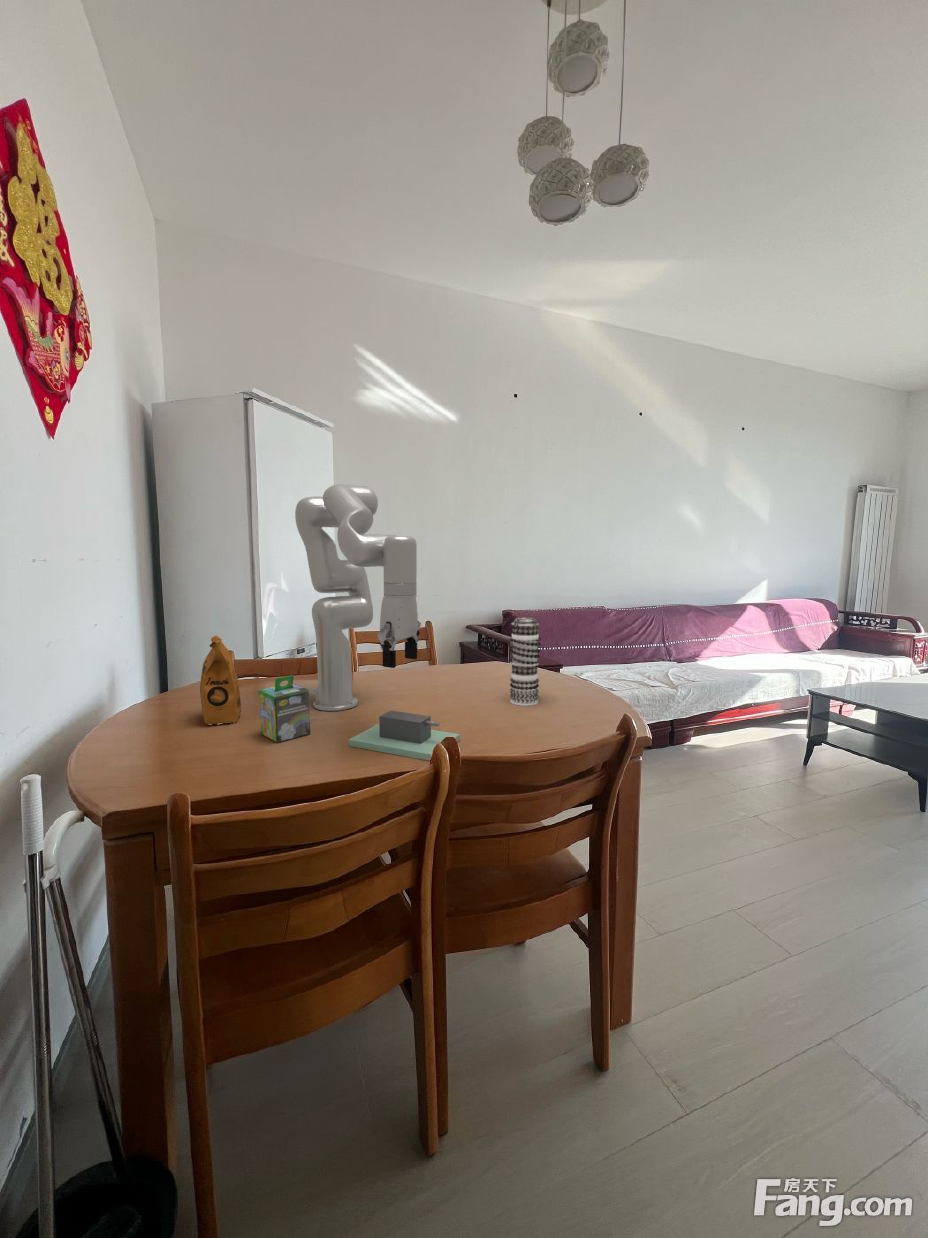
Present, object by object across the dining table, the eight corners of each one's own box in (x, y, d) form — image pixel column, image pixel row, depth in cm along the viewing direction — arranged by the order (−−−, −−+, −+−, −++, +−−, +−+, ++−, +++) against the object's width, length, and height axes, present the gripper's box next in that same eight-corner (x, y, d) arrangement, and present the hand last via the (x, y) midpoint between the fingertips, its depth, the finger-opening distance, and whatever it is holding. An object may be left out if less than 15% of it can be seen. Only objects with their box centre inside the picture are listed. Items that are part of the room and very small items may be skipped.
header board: (348, 745, 126) (348, 727, 125) (382, 727, 138) (381, 710, 138) (432, 761, 117) (432, 741, 116) (459, 740, 129) (459, 722, 129)
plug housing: (379, 737, 127) (379, 716, 127) (391, 730, 132) (390, 710, 131) (434, 746, 121) (434, 724, 121) (444, 739, 126) (444, 718, 125)
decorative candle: (541, 706, 156) (543, 620, 153) (509, 706, 157) (510, 620, 153) (537, 697, 166) (539, 616, 162) (507, 697, 166) (508, 616, 162)
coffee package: (198, 728, 138) (192, 643, 135) (203, 714, 149) (198, 635, 146) (240, 724, 141) (235, 641, 138) (242, 710, 153) (238, 633, 150)
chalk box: (294, 725, 140) (291, 669, 138) (311, 734, 133) (309, 675, 131) (259, 734, 134) (256, 675, 132) (276, 744, 127) (273, 682, 125)
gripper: (405, 586, 134) (405, 654, 136) (364, 592, 118) (365, 668, 121) (432, 588, 131) (432, 657, 133) (394, 594, 115) (394, 672, 118)
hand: (400, 662), depth 127 cm, fingers open, 9 cm apart
